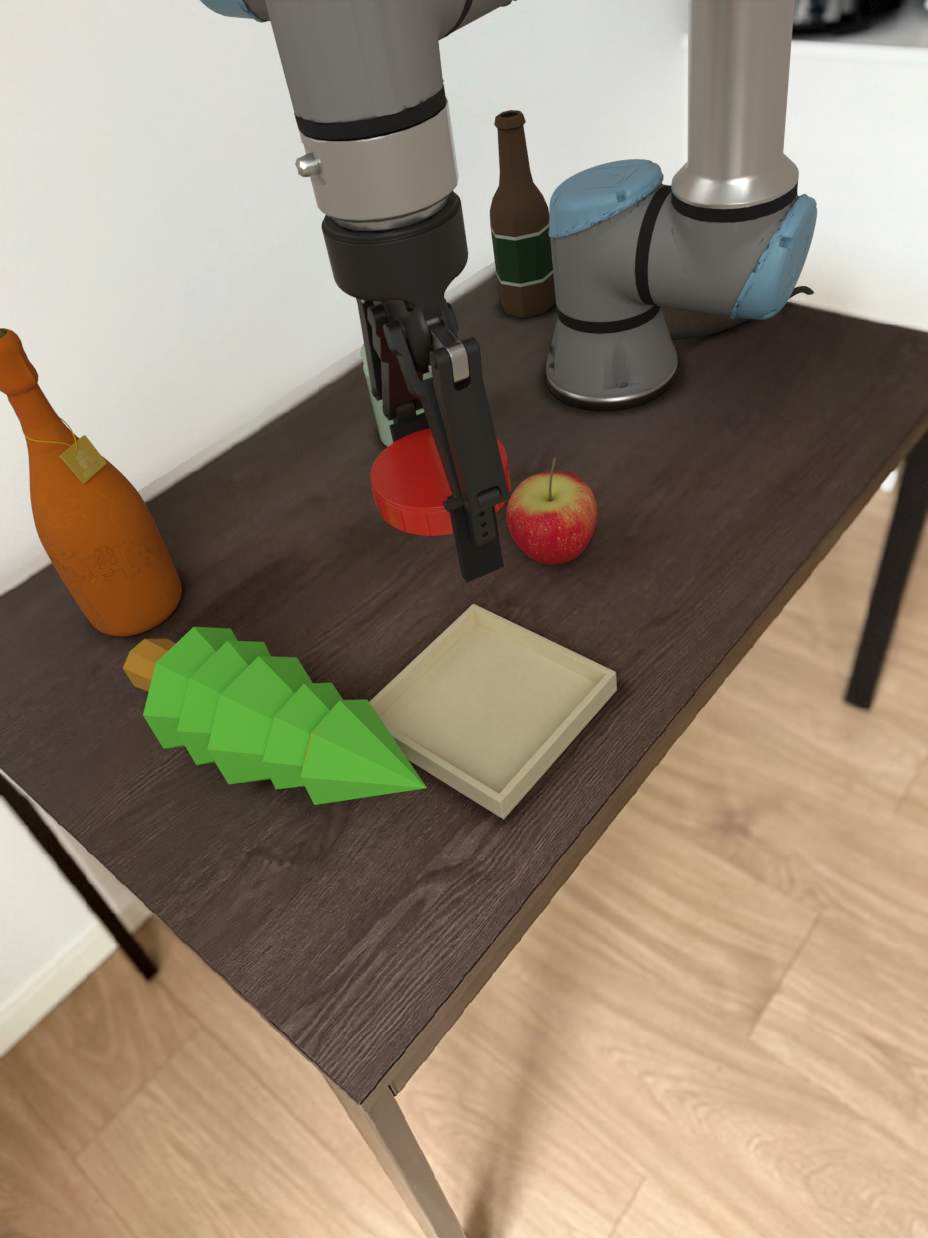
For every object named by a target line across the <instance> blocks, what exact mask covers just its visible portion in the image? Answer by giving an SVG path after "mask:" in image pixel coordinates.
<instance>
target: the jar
mask: <svg viewBox="0 0 928 1238" xmlns="http://www.w3.org/2000/svg"><path fill="white" fill-rule="evenodd" d="M359 352H360V357H361V359H362V361H363V366H362V370H363V373H364V378H365V381H366V386H367V390H368V394H369V399H370V402H371V406H372V410H373V414H374V419H375V422H376V423H375V424H376V427H377V432H378V435H379V439H380V441H381V442H382V443H383V445H385V446H386V447H388V446H390V445H391V444H392V443H393V440H392V435H391V431H390V427H389V425H392V424H393V420H390V421H388V419H387V418H386V417H385V416H384V414H383V409H382V406H383V404H382V400H380V401H377V400H376V399H375V397H373V395H372V392H371V390H372V388H371V383H370V377H369V371H368V365H367V359H366V353H365V347H364V343H363V344H362V345H361V348H360V351H359ZM430 377H432V375H431V374H430V372H428V373H425V374H423V380H425V379H427V378H430ZM381 379H382V377H381ZM423 412H424V409H423V408H422V409H420V410H417V411H416V414H417V415H418V414H421V413H423Z"/></svg>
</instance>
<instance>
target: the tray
mask: <svg viewBox="0 0 928 1238" xmlns="http://www.w3.org/2000/svg"><path fill="white" fill-rule="evenodd" d="M617 681H618V680H617V672H616V671H615V670H613V669H610V668H609V667H607V666H604V665H602V664H600V663H598V662H596V661H594V660H592V659H590V658H588V657H585V656H584V655H581V654H579V653H577V652H575V651H573V650H571V649H569V648H567V647H565V646H563V645H561V644H558V643H557V642H555V641H552V640H550V639H549V638H546V637H544V636H542V635H540V634H538V633H536V632H533V631H531V630H529V629H527V628H525V627H523V626H521V625H519V624H517V623H515V622H513V621H510V620H508V619H506V618H504V617H502V616H500V615H498V614H496V613H494V612H492V611H490V610H487V609H486V608H484V607H481V606H479V605H477V604H475V603H472V604H471V605H470V606H469V607H468V608H467V609H466V610H465V611H464V612H463V613H462V614H461V615H460V616H458V618H456V619H455V620H453V622H452V623H451V624H450V625H449V626H448V627H447V628H446V629H445V630H443V631H442V633H440V635H438V636H437V637H436V638H435V639H434V640H433V641H432V642H431V643H430V644H429V645H427V647H426V648H425V649H424V650H423V651H421V652H420V653H419V654H418V655H417V656H416V657H415V658H414V659H413V660H412V661H411V662H409V663H408V664H407V665H406V666H405V668H404V669H402V670H401V671H400V672H399V673H398V674H396V676H395V677H394V678H393V679H392V680H391V681H390V682H388V683H387V684H386V685H385V686H384V687H383V688H382V689H381V690H380V691H379V692H378V693H376V695H375V696H374V697H373V698H371V699H370V700H369V703H370V704H371V706H372V707H373V709H374V710H375V712H376V713H377V715H378V716H379V718H380V719H381V721H382V722H383V724H384V725H385V727H386V728H387V730H388V731H389V733H390V734H391V736H392V737H393V739H394V740H395V741H396V743H397V744H398V746H399V747H400V749H401V750H402V752H403V753H404V755H405V756H406V758H407V759H408V761H409V762H410V763H411V764H414V765H415V766H417V767H419V768H420V769H422V770H423V771H425V772H427V773H428V774H430V775H431V776H433V777H435V778H436V779H437V780H440V781H441V782H443V783H444V784H446V785H448V786H449V787H451V788H452V789H454V790H456V791H457V792H458V793H460V794H462V795H464V796H465V797H467V798H469V800H472V801H473V802H475V803H476V804H478V805H480V806H481V807H483V808H484V809H486V810H487V811H489V812H491V813H492V814H494V815H496V816H497V817H499V818H501V819H502V820H505V819H506V818H507V816H508V815H510V814H511V812H512V811H513V810H514V809H515V807H516V806H517V805H518V804H519V803H520V802H521V800H522V799H524V797H525V796H526V795H527V794H528V793H529V791H530V790H531V789H532V788H533V787H534V786H535V785H536V783H537V782H538V781H539V780H540V779H541V778H542V776H543V775H545V773H546V772H547V771H548V770H549V769H550V768H551V766H552V765H553V764H554V763H555V762H556V761H557V760H558V759H559V757H560V756H561V755H562V754H563V752H565V750H566V749H567V748H568V747H569V746H570V745H571V744H572V742H573V741H574V740H575V739H576V738H577V737H578V736H579V734H580V733H581V732H582V731H583V730H584V729H585V728H586V726H587V725H588V724H589V723H590V722H591V721H592V719H593V718H594V717H595V716H596V715H597V714H598V713H599V711H600V710H601V709H602V708H603V707H604V706H605V704H607V703H608V701H609V700H610V699H611V698H612V697H613V696H614V695H615V693H616V692H617V690H618V685H617Z"/></svg>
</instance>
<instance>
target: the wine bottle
mask: <svg viewBox="0 0 928 1238" xmlns="http://www.w3.org/2000/svg"><path fill="white" fill-rule="evenodd" d="M38 382H39V373H38V371H37V368H36V367H35V366H34V364H32V362H31V361H30V359H29V357H28V354H27V352H26V351H25V349H24V346H23V343H22V339H21V338H20V336H19V334H17V333H16V332H15V331H14V330H12V329H10V328H5V327H1V328H0V392H1V393H3V395H6V397H7V399H8V400H7V401H8V403H9V404H10V406H11V407H12V409H13V411H14V414H15V415H16V417H17V419H18V421H19V423H20V424H19V425H20V427H21V432H22V434H23V435H24V439H25V442H26V448H27V456H28V457H27V458H28V472H29V473H28V474H29V475H28V476H29V496H30V498H29V499H30V506H31V513H32V517H33V523H34V526H35V530H36V533H37V536H38V539H39V541H40V543H41V545H42V547H43V549H44V551H45V553H46V555H47V557H48V558H49V560H50V562H51V564H52V566H53V567H54V568H55V571H56V573H57V574H58V576H59V577H60V579H61V580H62V581H63V583H64V585H65V586H66V588H67V590H68V591H69V593H70V595H71V596H72V597H73V599H74V601H75V602H76V604H77V605H78V608H80V610H81V612H82V613H83V615H84V616H85V617H86V619H87V620H88V621H89V623H90V624H91V625H92V626H93V628H95V630H97V631H99V632H100V633H102V634H104V635H108V636H111V637H131V636H135V635H140V634H143V633H145V632H148V631H150V630H152V629H154V628H156V627H158V626H159V625H161V624H162V623H164V622H165V621H166V620H167V619H169V617H170V616H171V615H172V614H173V613H174V612H175V611H176V609H177V607H178V606H179V604H180V601H181V599H182V595H183V588H182V582H181V579H180V576H179V574H178V571H177V569H176V567H175V564H174V561H173V559H172V557H171V555H170V552H169V550H168V548H167V546H166V544H165V542H164V539H163V537H162V535H161V532H160V531H159V528H158V526H157V524H156V522H155V519H154V518H153V516H152V514H151V511H150V510H149V507H148V506H147V504H146V502H145V501H144V498H143V497H142V496H141V494H140V493H139V491H138V490H137V489H136V488H135V486H134V485H133V484H132V483H131V482H130V480H129V479H128V478H127V477H126V476H125V475H124V474H123V473H122V471H120V470H119V469H118V468H117V467H116V466H115V465H114V464H113V463H111V462H110V461H109V460H108V459H107V458H105V457H104V456H103V455H101V453H100V452H99V451H98V449H97V448H96V447H95V445H94V444H93V443H92V442H91V440H90V439H89V438H88V437H87V435H86V434H84V435H82V436H80V437H79V436H77V435H76V433H74V431H73V429H72V428H71V426H70V425H69V424H68V422H66V421H65V420H64V419H63V418H61V417H60V416H59V415H58V413H57V412H56V411H55V409H54V408H53V406H52V404H51V403H50V401H49V399H48V398H47V397H46V395H45V393H44V392H43V390H42V388H41V387H40V384H39V383H38Z"/></svg>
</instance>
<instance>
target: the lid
mask: <svg viewBox="0 0 928 1238" xmlns="http://www.w3.org/2000/svg"><path fill="white" fill-rule="evenodd" d="M496 439H497V443H498V447H499V452H500V456H501V460H502V465H503V469H504V473H505V478H506V482H507V486H508V489H509V494H510V493H511V491H512V488H511V487H512V485H511V476H510V475H511V473H510V467H509V458H508V454H507V451H506V448H505V446H504V445H503V443H502V442H501V440H499V439H498V438H497V437H496ZM370 482H371V486H370V487H371V491H372V495H373V499H374V503H375V506H376V509H377V510H378V512H379V514H380V516H381V517H382V519H383V520H384V521H385V522H386V523H387V524H388V525H390V526H391V527H393V528H395V529H397V530H399V531H400V532H404V533H407V534H412V535H416V536H429V537H430V536H431V537H435V536H447V535H452V534H453V535H454V532H453V527H452V522H451V517H450V512H447V511H446V509H445V508H444V506H443V503H442V501H445V500H447V497H448V496H451V495H452V492H451V489H450V486H449V483H448V480H447V477H446V474H445V471H444V468H443V466H442V463H441V460H440V457H439V454H438V451H437V448H436V445H435V442H434V439H433V436H432V433H431V430H430V428H429V429H424V430H421V431H418V432H415V433H412V434H409V435H407V436H405V437H403V438H401V439H399V440H397V441H396V442H394V443H392V444H391V445H390V446H386V448H385V449H384V450H382V451H381V452H380V453H379V455H378V456H377V457H376V459H375V460H374V462H373V464H372V467H371V470H370ZM506 502H507V500H506V501H504V502H501V503H499V504H496V505H495V512H496V514H497V513H498V512H500V510H501V509H502V507H503V506H504V505H505V503H506Z"/></svg>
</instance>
